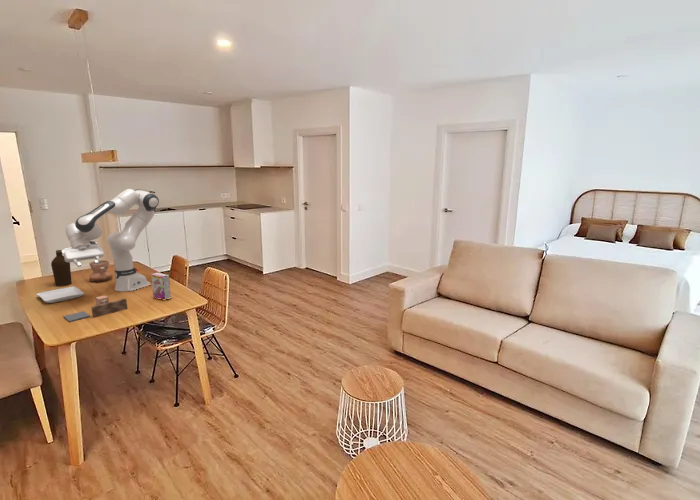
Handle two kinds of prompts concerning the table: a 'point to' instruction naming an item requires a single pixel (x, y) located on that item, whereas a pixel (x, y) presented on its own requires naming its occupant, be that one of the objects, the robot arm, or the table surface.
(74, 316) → the charcoal mat
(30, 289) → the table surface
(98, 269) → the ceramic jug
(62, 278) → the olive oil
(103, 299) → the pink block
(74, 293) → the salad plate
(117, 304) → the walnut screen
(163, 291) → the candy bar box
